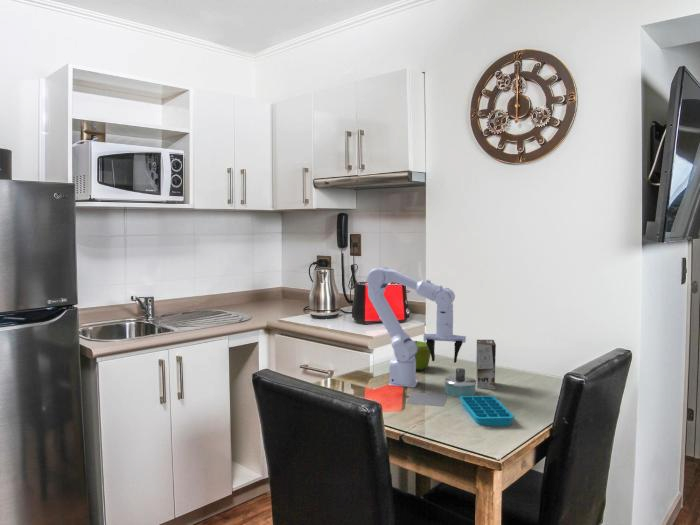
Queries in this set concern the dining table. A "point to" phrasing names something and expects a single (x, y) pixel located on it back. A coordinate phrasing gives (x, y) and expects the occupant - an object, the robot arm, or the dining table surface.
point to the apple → (422, 355)
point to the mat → (427, 399)
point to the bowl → (459, 390)
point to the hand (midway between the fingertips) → (444, 361)
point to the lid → (460, 379)
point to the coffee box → (485, 364)
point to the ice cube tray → (487, 410)
